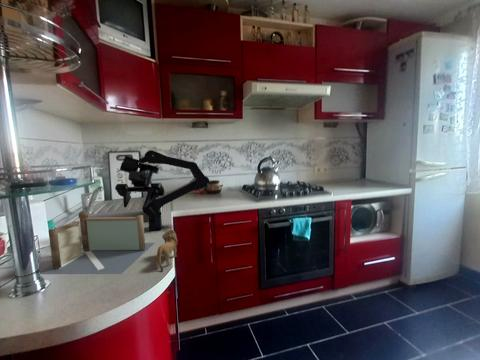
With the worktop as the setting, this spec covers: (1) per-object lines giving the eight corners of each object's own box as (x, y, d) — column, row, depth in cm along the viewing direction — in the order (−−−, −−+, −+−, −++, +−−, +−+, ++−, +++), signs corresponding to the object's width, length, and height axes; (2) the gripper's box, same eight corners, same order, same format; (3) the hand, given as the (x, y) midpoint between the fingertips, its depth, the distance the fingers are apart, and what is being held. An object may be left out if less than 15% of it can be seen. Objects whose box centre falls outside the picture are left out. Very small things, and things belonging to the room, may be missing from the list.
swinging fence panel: (92, 248, 89) (89, 215, 88) (146, 247, 88) (143, 215, 86) (88, 250, 87) (85, 217, 86) (143, 250, 86) (141, 216, 84)
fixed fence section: (85, 249, 90) (81, 210, 88) (93, 248, 89) (89, 210, 88) (49, 269, 74) (44, 223, 72) (59, 269, 73) (54, 223, 72)
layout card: (89, 244, 95) (89, 243, 95) (155, 243, 94) (154, 242, 94) (34, 275, 71) (34, 273, 71) (121, 274, 70) (121, 273, 70)
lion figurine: (163, 253, 85) (162, 227, 84) (179, 252, 85) (178, 227, 84) (153, 274, 70) (151, 243, 69) (172, 272, 70) (170, 242, 70)
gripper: (115, 164, 101) (101, 195, 91) (160, 163, 100) (151, 194, 90) (126, 181, 109) (114, 211, 100) (167, 180, 109) (160, 210, 99)
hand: (134, 207), depth 97 cm, fingers open, 8 cm apart
